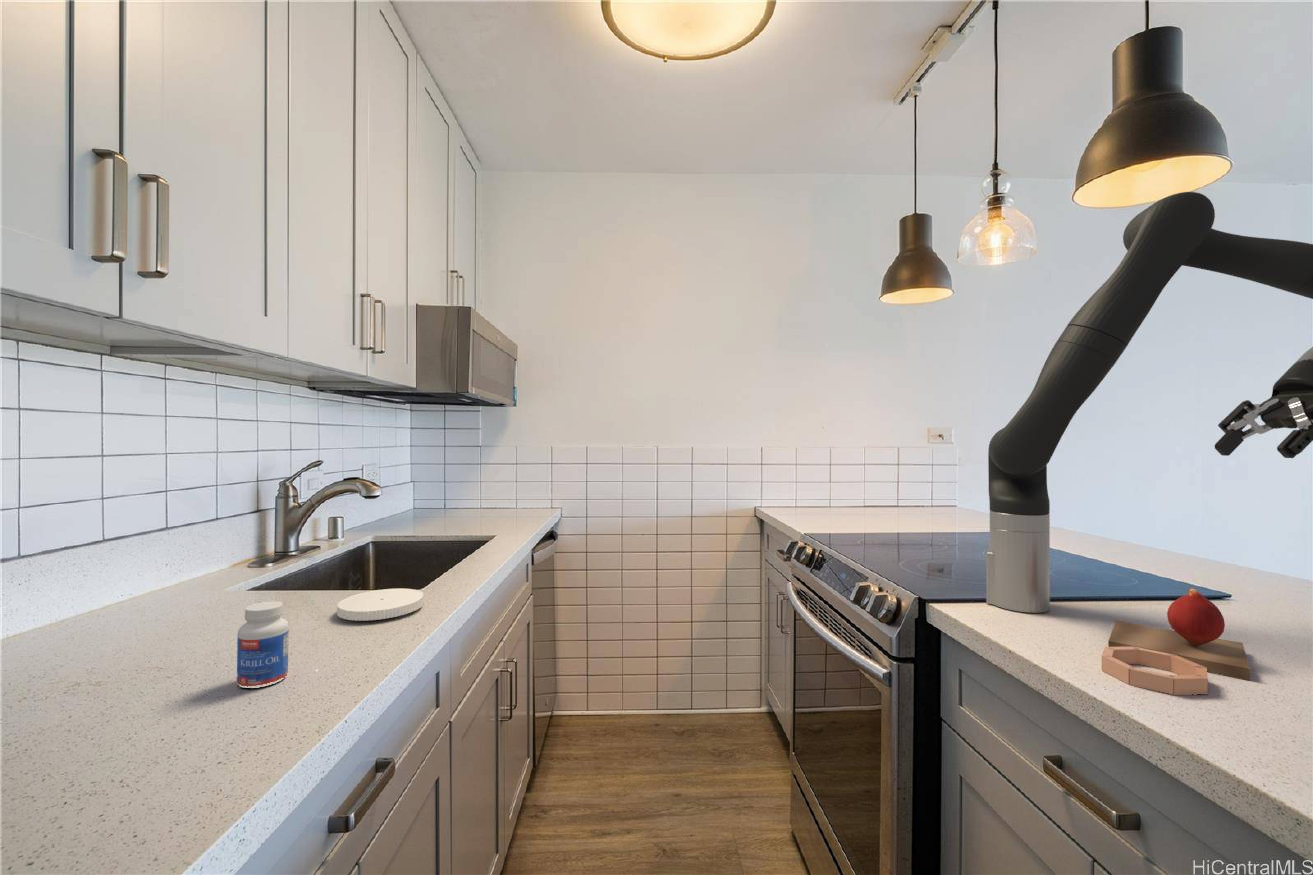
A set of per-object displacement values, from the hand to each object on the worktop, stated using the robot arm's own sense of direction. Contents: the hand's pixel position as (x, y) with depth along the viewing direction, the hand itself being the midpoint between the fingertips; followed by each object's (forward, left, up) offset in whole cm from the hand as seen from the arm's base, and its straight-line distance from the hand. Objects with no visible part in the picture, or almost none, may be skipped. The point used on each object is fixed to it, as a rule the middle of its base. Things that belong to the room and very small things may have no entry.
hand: (1250, 452), depth 82 cm
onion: (-6, -11, -27) cm, 30 cm away
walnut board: (-8, -11, -29) cm, 32 cm away
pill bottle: (-93, -104, -29) cm, 143 cm away
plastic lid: (-112, -83, -29) cm, 142 cm away
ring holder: (-10, -24, -29) cm, 39 cm away
